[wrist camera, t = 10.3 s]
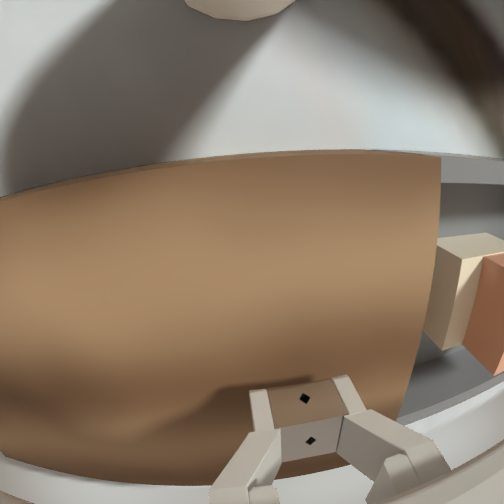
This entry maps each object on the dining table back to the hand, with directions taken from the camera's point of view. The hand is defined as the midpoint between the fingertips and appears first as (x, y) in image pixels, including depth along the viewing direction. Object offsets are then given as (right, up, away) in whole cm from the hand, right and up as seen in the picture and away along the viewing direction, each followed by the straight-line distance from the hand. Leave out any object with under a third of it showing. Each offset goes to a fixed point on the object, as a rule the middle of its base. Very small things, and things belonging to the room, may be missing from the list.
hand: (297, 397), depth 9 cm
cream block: (+11, +2, +4) cm, 11 cm away
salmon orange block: (+12, +2, +4) cm, 13 cm away
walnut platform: (-7, +2, +6) cm, 9 cm away
